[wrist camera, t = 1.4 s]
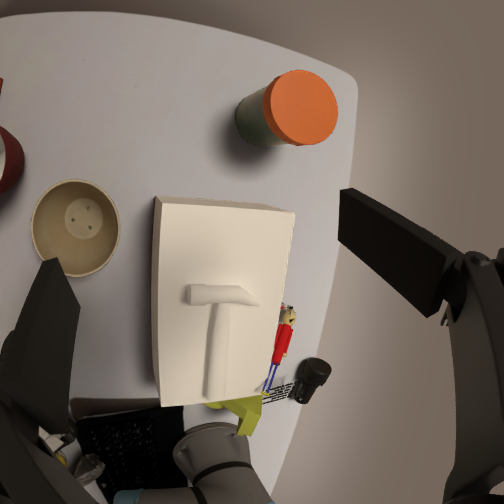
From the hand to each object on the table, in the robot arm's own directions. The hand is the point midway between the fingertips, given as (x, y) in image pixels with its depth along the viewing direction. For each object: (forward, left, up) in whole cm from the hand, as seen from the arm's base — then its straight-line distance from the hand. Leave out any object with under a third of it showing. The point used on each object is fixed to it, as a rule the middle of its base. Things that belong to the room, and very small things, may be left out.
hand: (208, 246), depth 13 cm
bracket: (-33, -6, -19) cm, 39 cm away
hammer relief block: (-14, -3, -25) cm, 29 cm away
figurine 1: (-29, -5, -17) cm, 34 cm away
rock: (-47, +27, -20) cm, 58 cm away
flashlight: (-41, -13, -25) cm, 50 cm away
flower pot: (0, +10, -26) cm, 27 cm away
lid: (+8, -15, -15) cm, 23 cm away
